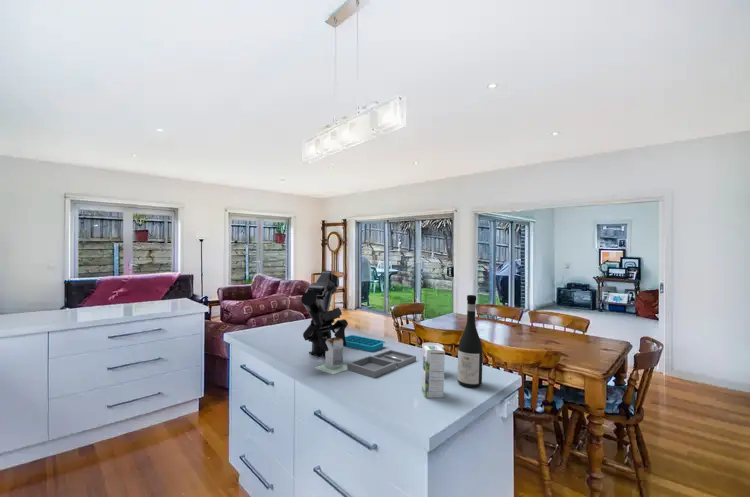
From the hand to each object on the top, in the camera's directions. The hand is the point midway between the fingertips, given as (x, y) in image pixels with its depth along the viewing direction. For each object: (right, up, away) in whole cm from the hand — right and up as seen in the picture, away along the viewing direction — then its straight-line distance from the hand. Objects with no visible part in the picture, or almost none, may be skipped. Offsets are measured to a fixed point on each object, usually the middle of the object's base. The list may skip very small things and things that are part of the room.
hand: (336, 348), depth 129 cm
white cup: (+35, -9, -1) cm, 36 cm away
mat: (-1, -8, +1) cm, 8 cm away
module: (-1, -7, +1) cm, 7 cm away
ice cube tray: (+8, -9, +32) cm, 34 cm away
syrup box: (+32, -9, -20) cm, 39 cm away
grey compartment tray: (+17, -8, +6) cm, 20 cm away
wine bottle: (+46, -9, -11) cm, 48 cm away
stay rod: (+21, -8, +11) cm, 26 cm away
